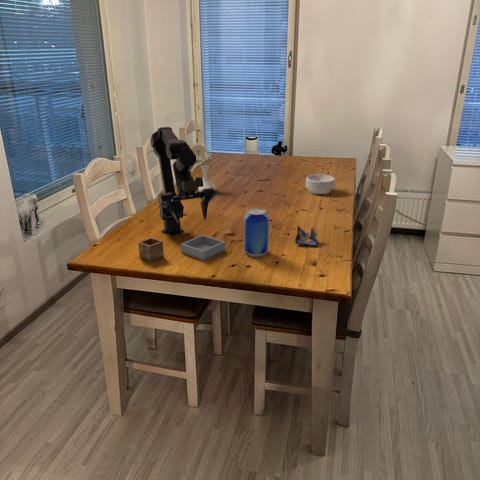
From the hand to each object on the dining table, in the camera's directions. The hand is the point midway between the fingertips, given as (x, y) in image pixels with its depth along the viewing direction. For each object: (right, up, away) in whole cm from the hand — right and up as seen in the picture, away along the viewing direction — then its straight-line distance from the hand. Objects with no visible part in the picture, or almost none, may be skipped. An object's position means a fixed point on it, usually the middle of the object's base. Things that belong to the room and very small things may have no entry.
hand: (192, 221), depth 146 cm
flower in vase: (-3, +20, +88) cm, 90 cm away
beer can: (+22, -11, +12) cm, 27 cm away
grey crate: (+3, -11, +13) cm, 17 cm away
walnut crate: (-15, -12, +9) cm, 22 cm away
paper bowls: (+58, +19, +85) cm, 105 cm away
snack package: (+42, -7, +22) cm, 48 cm away
